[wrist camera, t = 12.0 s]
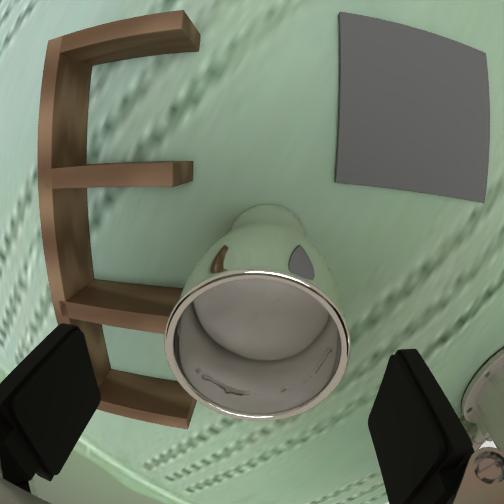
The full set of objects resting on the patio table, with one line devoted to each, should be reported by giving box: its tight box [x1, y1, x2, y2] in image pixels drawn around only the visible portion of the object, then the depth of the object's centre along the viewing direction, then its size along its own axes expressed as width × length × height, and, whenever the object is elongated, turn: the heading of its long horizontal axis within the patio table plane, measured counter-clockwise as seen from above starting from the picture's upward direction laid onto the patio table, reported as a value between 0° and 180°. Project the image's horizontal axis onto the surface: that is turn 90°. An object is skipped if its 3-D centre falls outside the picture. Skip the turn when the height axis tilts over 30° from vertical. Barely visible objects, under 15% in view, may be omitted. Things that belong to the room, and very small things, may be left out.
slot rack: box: [38, 10, 200, 429], centre depth 23 cm, size 33×11×5 cm, turn 178°
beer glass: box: [164, 205, 351, 421], centre depth 18 cm, size 7×7×15 cm
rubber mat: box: [335, 12, 490, 203], centre depth 20 cm, size 14×14×1 cm
